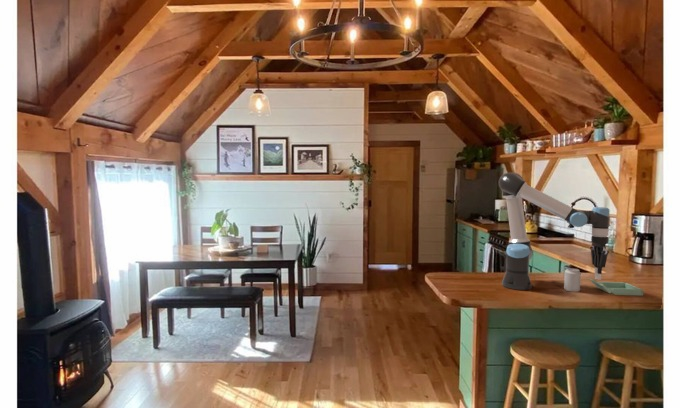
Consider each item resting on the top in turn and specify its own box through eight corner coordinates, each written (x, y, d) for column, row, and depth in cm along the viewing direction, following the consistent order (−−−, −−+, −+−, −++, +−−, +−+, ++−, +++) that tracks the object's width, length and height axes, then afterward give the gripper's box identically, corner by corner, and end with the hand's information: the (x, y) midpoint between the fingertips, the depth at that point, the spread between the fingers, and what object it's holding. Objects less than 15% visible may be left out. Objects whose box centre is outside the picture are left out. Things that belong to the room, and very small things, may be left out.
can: (565, 288, 214) (566, 266, 213) (580, 290, 209) (581, 269, 208) (562, 291, 208) (563, 269, 207) (578, 293, 203) (579, 271, 202)
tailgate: (609, 293, 202) (601, 285, 202) (596, 287, 213) (589, 279, 213) (611, 292, 202) (603, 284, 202) (598, 286, 213) (591, 278, 213)
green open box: (614, 295, 200) (615, 289, 200) (598, 287, 214) (599, 281, 214) (642, 296, 199) (643, 289, 199) (625, 288, 213) (625, 282, 213)
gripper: (614, 237, 199) (612, 282, 200) (599, 234, 212) (597, 276, 213) (599, 237, 199) (597, 282, 201) (585, 234, 212) (583, 275, 214)
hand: (597, 279), depth 207 cm, fingers closed
